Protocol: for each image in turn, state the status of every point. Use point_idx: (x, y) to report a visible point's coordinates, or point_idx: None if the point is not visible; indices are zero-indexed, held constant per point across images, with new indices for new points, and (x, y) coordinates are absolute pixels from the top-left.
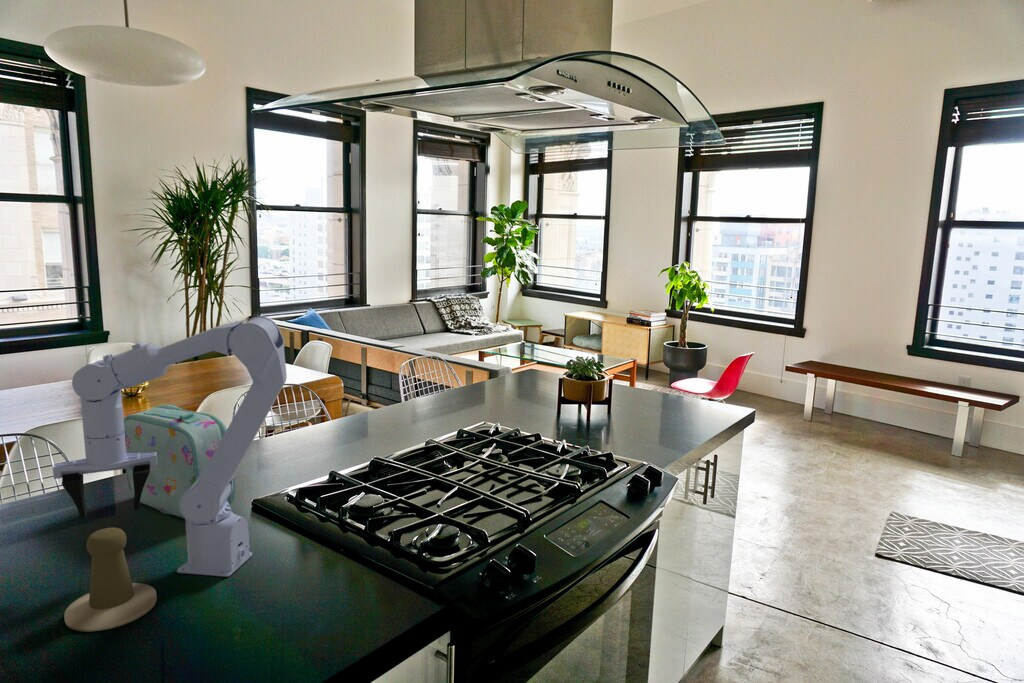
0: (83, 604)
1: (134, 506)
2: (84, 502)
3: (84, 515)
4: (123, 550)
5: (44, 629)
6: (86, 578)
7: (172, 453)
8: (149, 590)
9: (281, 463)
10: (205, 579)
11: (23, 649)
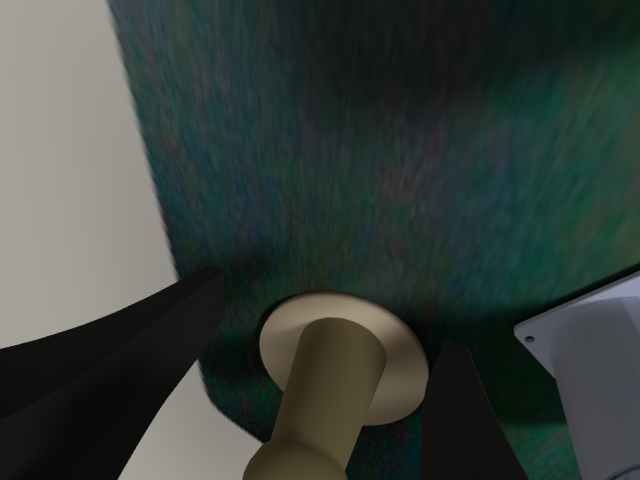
0: (290, 335)
1: (423, 411)
2: (183, 329)
3: (214, 328)
4: (346, 465)
5: (235, 340)
6: (304, 189)
7: None
8: (416, 377)
9: None
10: (554, 393)
11: (215, 369)
